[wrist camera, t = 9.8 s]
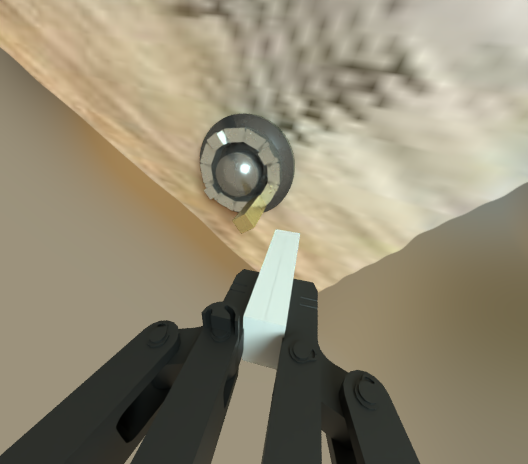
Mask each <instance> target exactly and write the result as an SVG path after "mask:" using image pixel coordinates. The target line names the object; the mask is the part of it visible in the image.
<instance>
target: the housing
mask: <svg viewBox="0 0 528 464" xmlns="http://www.w3.org/2000/svg"><path fill="white" fill-rule="evenodd" d="M240 127H250V128H254V129H255V130H257V131H259V132H260V133H262V134H264V135H265V136H267V137H269V138H270V139H269V141H270V140H272V142H273V144H274V145H275V147H276V149H277V151H278V153H279V154H280V156H281V159H280V160H282V182H281V184H280V186H279V187H278V189H277V191H276V193H275V194H274V196H273V198H272V200H271V201H270V202H269V204H267V206H266V208H265V210H264V212H266V211H269V210H271V209H272V208H274V207H276V206H277V205H278V204H279V203H280V202H281V201H282V200H283V199H284V197H285V196H286V195H287V193H288V191H289V189H290V187H291V184H292V181H293V177H294V172H295V160H294V155H293V151H292V148H291V145H290V143H289V141H288V139H287V138H286V136H285V134H284V133H283V132H282V131H281V130H280V129H279V128H278V127H277V126H276V125H275V124H274V123H272V122H271V121H269V120H267V119H265V118H263V117H261V116H257V115H252V114H235V115H231V116H228V117H225V118H223V119H222V120H220V121H219V122H217V123H216V124H215V125H214V126H213V127H212V128H211V129H210V130H209V132H208V133H207V135H206V137H205V138H204V141H203V144H202V147H201V151H200V161H201V157H202V154H203V151H204V148H205V145H206V143H208V142H207V139H209V138H210V137H211V136H212V135H213V134H215V133H216V132H220V131H221V130H222V129H226V128H240ZM258 153H259V151H258V150H256V149H255V148H253V147H251V146H250V145H248V144H246V143H245V142H232V143H231V144H229V145H228V146H227V147H225V148H224V149H223V150H222V153H221V156H220V158H219V161H218V165H217V168H216V178H217V181H218V183H219V185H220V187H221V188H222V189H223V190H224V191H225V192H226V193H228V194H230V195H232V196H237V197H241V196H252V197H253V196H255V195H257V194H259V193H260V192H262V191H263V190H264V188H265V187H266V185H267V183H268V172H267V165H264V164H263V162H262V160H261V159H260V157H259V155H258ZM200 164H201V162H200ZM201 173H202V172H201ZM205 184H207V183H205ZM217 200H218V199H217ZM233 211H234V210H233ZM235 212H236V211H235ZM238 213H239V212H238Z"/></svg>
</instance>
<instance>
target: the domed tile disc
mask: <svg viewBox="0 0 528 464" xmlns="http://www.w3.org/2000/svg"><path fill="white" fill-rule="evenodd" d="M269 139H270V138H269V137H267V136H265V135H264V134H262V133H260V132H259V131H257V130H255V129H254V128H250V127H240V128H226V129H222V130H221V131H220V132H216V133H215V134H213V135H212V136H211V137H210V138H209V139H207V142H208V143H206V145H205V148H204V151H203V154H202V157H201V161H200V162H201V164H200V167H201V172H202V178H203V183H207V184H205V187H206V189H205V190H204V191H205V193H206V194H207V196H208V197H209V198H210V200H211V199H212V198H214V199H215V201H216V200H217V199H218V200H217V202H218V203H220V204H221V205H223V206H225V207H227V208H228V209H230V210H232V211H233V210H234V211H236V212H239V213H238V214H237V216H236V217H235V218H234V219H233V220H232V222H233V223H234V224H235V226H236V227H237V229H238V230H239V231H240V233H241V234H242V233H244V232H246V231H249V230H251V229H253V228H254V227H255V226H256V224H257V222H258V220H259V219H260V217H261V215H262V213H263V212H264V210H265V208H266V206H267V204H269V202H270V201H271V200H272V198H273V196H274V194H275V193H276V191H277V189H278V187H279V186H280V184H281V182H282V160H280V159H281V156H280V154H279V153H278V151H277V149H276V147H275V145H274V144H273V142H272V140H270V141H269ZM232 142H245V143H246V144H248V145H250V146H251V147H253V148H255V149H256V150H258V151H259V153H258V155H259V157H260V159H261V160H262V162H263V164H264V165H267V172H268V183H267V185H266V187H265V188H264V190H263V191H262V192H260V193H259V194H257V195H255V196H253V197H252V196H241V197H237V196H232V195H230V194H228V193H226V192H225V191H224V190H223V189H222V188H221V187H220V185H219V183H218V181H217V178H216V168H217V165H218V161H219V158H220V156H221V153H222V150H223V149H224V148H225V147H227V146H228V145H229V144H231V143H232Z"/></svg>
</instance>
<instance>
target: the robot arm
mask: <svg viewBox="0 0 528 464" xmlns="http://www.w3.org/2000/svg"><path fill="white" fill-rule="evenodd" d="M299 238H300V233H295V232H289V231H283V230H277V229H276V230H275V233H274V236H273V238H272V241H271V244H270V246H269V249H268V252H267V254H266V257H265V260H264V262H263V265H262V268H261V271H260V272H255V271H250V270H246V269H244V270H242V271H241V272H240V273H238V274H237V275H236V277H235V279H234V281H233V284H232V285H231V287H230V290H229V291H228V293H227V295H226V297H225V299H224V301H223V302H217V303H213V304H211V305H209V306H208V307H206V308H205V309H204V311H203V312H202V320H203V326H201V327H196V328H186V329H178V326H177V325H176V324H175V323H174V322H171V321H167V320H166V321H158V322H156V323H153V324H152V325H150V326H148V327H147V328H145V329H144V330H143V331H142V332H141V333H139V334H138V335H137V336H136V337H135V338H134V339H133V340H132V341H130V342H129V343H128V344H127V345H126V346H125V347H124V348H122V349H121V350H120V351H119V352H118V353H117V354H116V355H115V356H113V357H112V358H111V359H110V360H109V361H108V362H107V363H105V364H104V365H103V366H102V367H101V368H100V369H98V371H96V372H95V373H94V374H93V375H92V376H91V377H90V378H88V379H87V380H86V381H85V382H84V383H83V384H81V386H79V387H78V388H77V389H76V390H75V391H73V392H72V393H71V394H70V395H69V396H68V397H67V398H65V399H64V400H63V401H62V402H61V403H60V404H59V405H57V407H55V408H54V409H53V410H52V411H51V412H49V413H48V414H47V415H46V416H45V417H44V418H43V419H42V420H40V421H39V422H38V423H37V424H36V425H35V426H34V427H32V428H31V429H30V430H29V431H28V432H27V433H26V434H24V435H23V436H22V437H21V438H20V439H19V440H18V441H16V442H15V443H14V444H13V445H12V446H11V447H10V448H8V449H7V450H6V451H5V452H4V453H3V454H2V455H1V456H0V464H124V463H125V462H126V460H127V459H128V458H129V456H130V455H131V454H132V452H133V451H134V450H135V448H136V447H137V446H138V444H139V443H140V442H141V440H142V439H143V438H144V439H143V441H142V443H141V445H140V447H139V449H138V451H137V452H136V454H135V456H134V458H133V460H132V462H131V463H130V464H211V461H212V458H213V455H214V452H215V448H216V445H217V441H218V439H219V435H220V432H221V429H222V425H223V422H224V419H225V416H226V412H227V409H228V406H229V403H230V399H231V396H232V393H233V389H234V386H235V383H236V380H237V377H238V369H239V364H240V360H241V357H242V360H244V361H248V362H251V363H255V364H258V365H262V366H266V367H269V368H273V369H276V370H277V372H276V379H275V384H274V390H273V394H272V401H271V408H270V414H269V420H268V426H267V432H266V438H265V444H264V450H263V456H262V462H261V464H322V462H321V461H322V455H321V454H322V452H321V430H322V431H324V432H325V433H326V437H327V443H328V447H329V452H330V457H331V462H332V464H420V462H419V460H418V458H417V456H416V453H415V451H414V449H413V447H412V445H411V442H410V440H409V438H408V436H407V434H406V432H405V429H404V427H403V425H402V423H401V420H400V418H399V416H398V414H397V412H396V409H395V407H394V405H393V403H392V401H391V398H390V396H389V394H388V393H387V391H386V389H385V388H384V386H383V385H382V384H381V383H380V382H379V381H378V380H377V379H376V378H375V377H374V376H372V375H371V374H369V373H367V372H364V371H360V370H355V371H351V372H349V373H348V372H346V371H345V370H343V369H341V368H340V367H338V366H336V365H335V364H333V363H332V362H331V361H329V360H328V359H327V358H326V357H325V356H324V354H323V353H322V351H321V350H320V347H319V345H318V339H317V325H318V320H317V317H318V315H317V312H318V311H317V307H318V306H317V305H318V304H317V303H318V302H317V298H318V291H317V289H316V287H315V285H314V283H312V282H307V281H302V280H297V279H293V277H294V271H295V264H296V257H297V251H298V244H299ZM144 436H145V437H144Z"/></svg>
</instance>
